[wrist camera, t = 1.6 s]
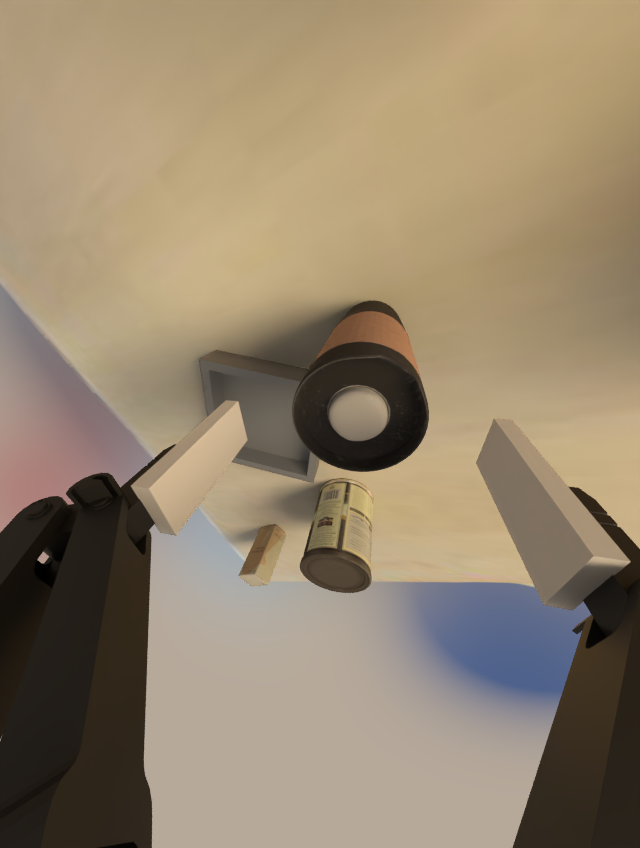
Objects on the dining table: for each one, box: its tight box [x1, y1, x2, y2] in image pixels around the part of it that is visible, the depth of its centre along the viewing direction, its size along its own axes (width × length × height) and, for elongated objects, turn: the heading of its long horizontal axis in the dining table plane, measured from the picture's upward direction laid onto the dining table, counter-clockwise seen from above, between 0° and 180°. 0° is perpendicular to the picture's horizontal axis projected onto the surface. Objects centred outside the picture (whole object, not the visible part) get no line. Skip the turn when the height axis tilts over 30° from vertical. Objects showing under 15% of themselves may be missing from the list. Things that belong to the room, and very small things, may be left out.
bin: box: [199, 350, 319, 483], centre depth 38 cm, size 17×17×4 cm
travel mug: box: [292, 301, 429, 472], centre depth 22 cm, size 8×8×20 cm
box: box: [239, 525, 286, 586], centre depth 54 cm, size 5×4×11 cm
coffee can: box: [300, 479, 373, 593], centre depth 41 cm, size 10×10×14 cm
